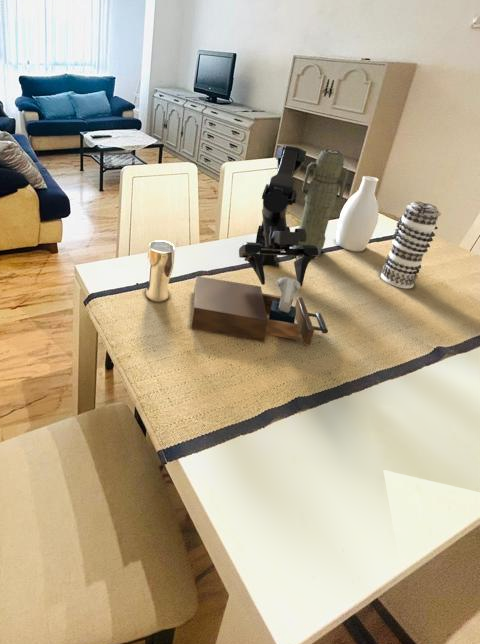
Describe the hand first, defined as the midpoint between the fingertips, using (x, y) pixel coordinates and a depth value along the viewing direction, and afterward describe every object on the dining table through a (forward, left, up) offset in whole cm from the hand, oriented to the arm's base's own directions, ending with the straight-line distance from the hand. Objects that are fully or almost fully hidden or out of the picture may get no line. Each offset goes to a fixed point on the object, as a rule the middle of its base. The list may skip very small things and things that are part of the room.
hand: (281, 285), depth 96 cm
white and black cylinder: (-28, +39, -9) cm, 49 cm away
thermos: (-40, +16, -9) cm, 44 cm away
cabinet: (+4, -13, -9) cm, 16 cm away
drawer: (+4, 0, -8) cm, 9 cm away
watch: (+4, 0, -7) cm, 8 cm away
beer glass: (0, -31, -9) cm, 32 cm away
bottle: (-48, +32, -9) cm, 58 cm away
